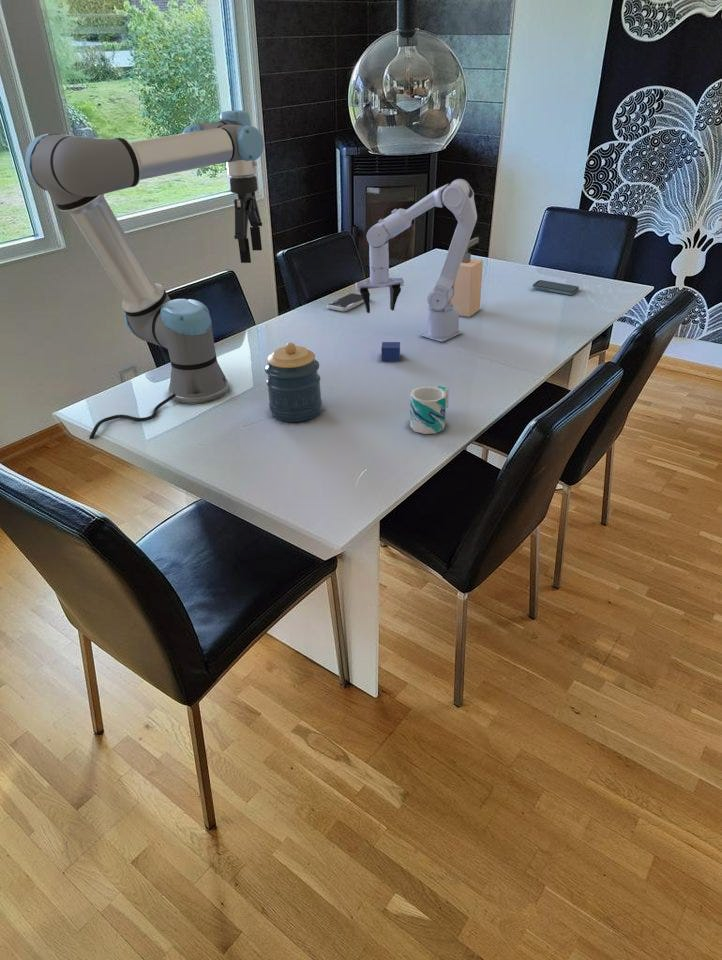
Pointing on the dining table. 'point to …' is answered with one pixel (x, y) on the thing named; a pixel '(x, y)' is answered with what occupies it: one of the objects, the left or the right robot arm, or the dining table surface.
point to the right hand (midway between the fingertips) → (380, 310)
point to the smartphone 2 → (555, 287)
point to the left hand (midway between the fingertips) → (251, 256)
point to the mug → (428, 409)
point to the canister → (293, 384)
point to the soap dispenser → (468, 284)
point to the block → (390, 351)
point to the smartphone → (346, 302)
